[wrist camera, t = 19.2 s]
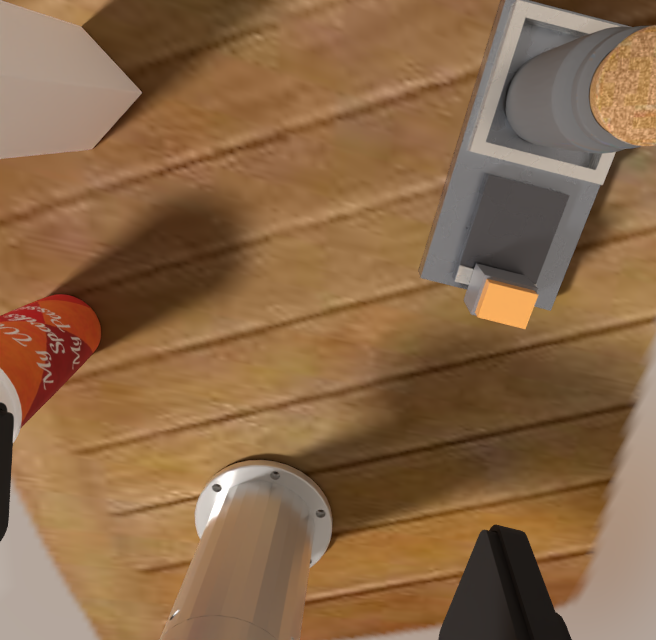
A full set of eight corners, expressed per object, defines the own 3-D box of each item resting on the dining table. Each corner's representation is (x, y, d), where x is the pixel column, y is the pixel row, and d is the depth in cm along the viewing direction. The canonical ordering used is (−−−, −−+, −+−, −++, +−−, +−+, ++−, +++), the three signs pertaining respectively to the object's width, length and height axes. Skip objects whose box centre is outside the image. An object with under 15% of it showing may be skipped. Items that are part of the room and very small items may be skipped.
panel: (542, 302, 44) (556, 317, 41) (418, 271, 44) (422, 283, 41) (645, 38, 38) (672, 30, 35) (500, 1, 38) (512, -11, 34)
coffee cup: (133, 320, 47) (31, 405, 33) (85, 389, 50) (-28, 496, 36) (45, 259, 46) (-99, 320, 32) (1, 333, 48) (-151, 420, 34)
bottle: (610, 67, 37) (759, 33, 23) (571, 157, 39) (686, 177, 25) (525, 38, 37) (622, -13, 22) (490, 130, 39) (558, 136, 24)
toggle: (512, 312, 41) (527, 332, 37) (463, 300, 41) (473, 319, 37) (525, 275, 40) (542, 292, 36) (476, 263, 40) (487, 278, 36)
